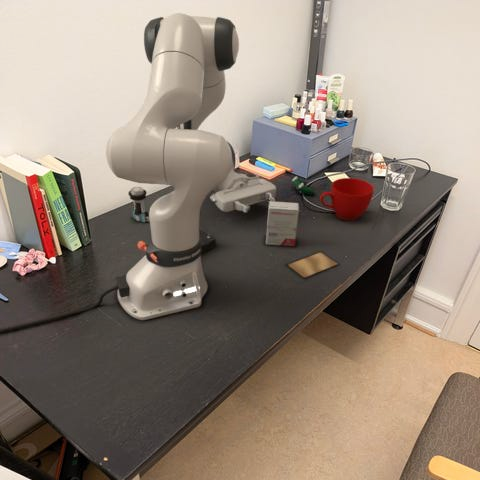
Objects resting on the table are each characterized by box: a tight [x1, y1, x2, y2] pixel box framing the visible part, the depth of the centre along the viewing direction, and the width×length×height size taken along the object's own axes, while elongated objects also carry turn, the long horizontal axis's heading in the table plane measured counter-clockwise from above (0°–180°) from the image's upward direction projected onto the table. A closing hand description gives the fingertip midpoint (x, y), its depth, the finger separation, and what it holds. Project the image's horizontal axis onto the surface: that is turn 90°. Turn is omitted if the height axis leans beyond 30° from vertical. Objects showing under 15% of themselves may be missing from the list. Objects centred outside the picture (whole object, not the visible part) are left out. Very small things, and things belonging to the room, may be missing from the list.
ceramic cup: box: [319, 177, 375, 221], centre depth 141 cm, size 13×17×10 cm
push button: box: [128, 186, 150, 223], centre depth 136 cm, size 7×5×10 cm
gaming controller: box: [291, 175, 315, 196], centre depth 157 cm, size 9×4×6 cm
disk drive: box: [199, 229, 217, 253], centre depth 129 cm, size 10×3×15 cm
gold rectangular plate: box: [287, 251, 338, 279], centre depth 123 cm, size 12×7×1 cm, turn 124°
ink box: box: [265, 201, 300, 247], centre depth 128 cm, size 9×5×12 cm, turn 84°
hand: (260, 206), depth 133 cm, fingers open, 8 cm apart
